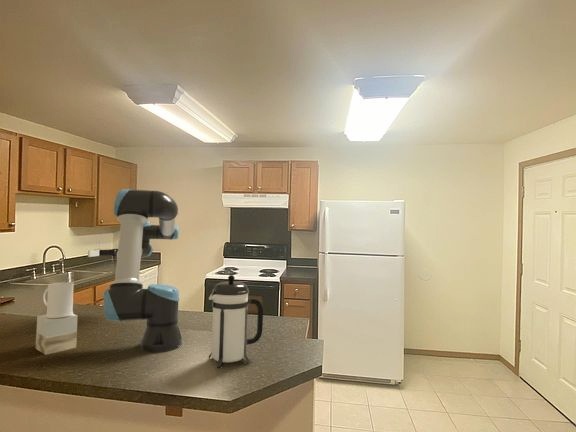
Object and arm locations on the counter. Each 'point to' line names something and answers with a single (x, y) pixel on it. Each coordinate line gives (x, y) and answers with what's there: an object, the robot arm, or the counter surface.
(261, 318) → the coffee press
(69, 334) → the block
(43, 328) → the tower top
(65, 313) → the mug
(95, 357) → the counter surface
